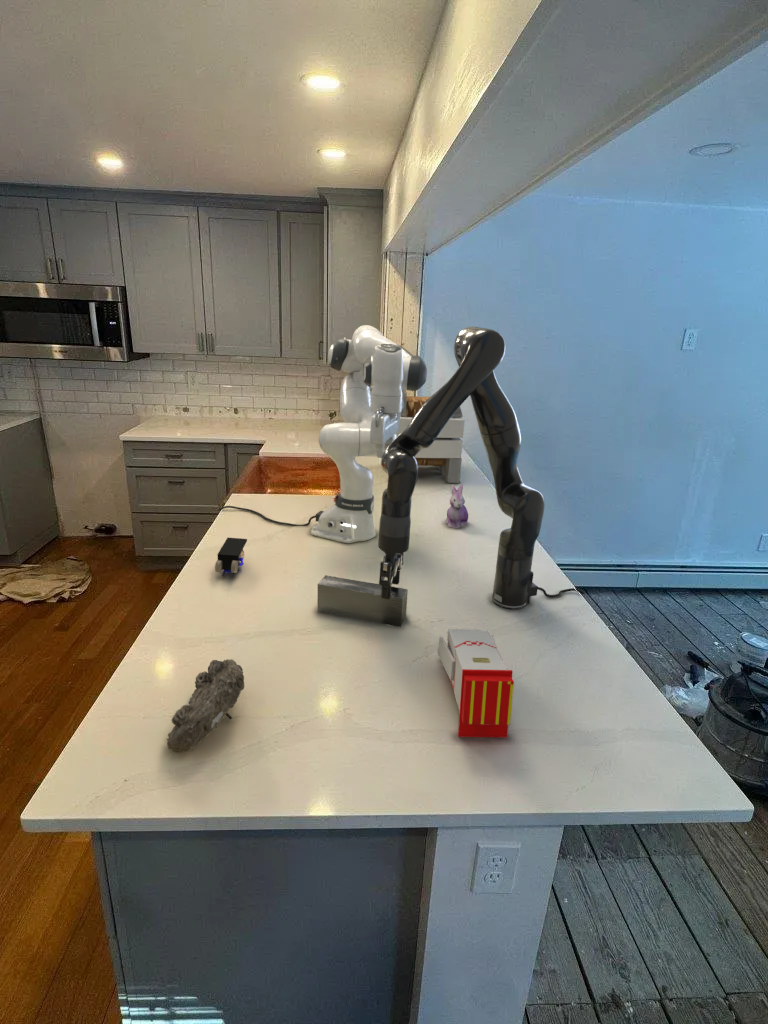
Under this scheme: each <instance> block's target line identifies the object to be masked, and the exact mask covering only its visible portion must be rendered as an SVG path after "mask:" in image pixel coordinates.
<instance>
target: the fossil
mask: <svg viewBox="0 0 768 1024" xmlns="http://www.w3.org/2000/svg"><path fill="white" fill-rule="evenodd" d="M243 670H244V669H243V667H242V665H240V664H237V662H236V661H235V660H234V659H232V658H231V659H227V658H226V659H224V660H223V661H222V660H217V659H212V660H211V661H210V663H209V665H208V666H207V671H201V672H199V673H198V674H197V675H196V676H195V680H194V684H195V685H194V687H195V689H194V690H193V693H192V694H191V697H190V698H189V700H188V704H184V705H182V706H181V707H180V709H177V710H176V711H175V713H174V715H173V716H172V718H171V723H172V724H173V727H172V730H171V731H170V732H168V734H167V738H166V741H167V742H166V745H167V749H168V750H169V751H173V752H174V753H176V754H178V753H182V752H188V751H189V752H192V751H193V750H195V748H196V747H197V746H199V744H200V743H201V742H203V741H204V740H205V739H206V738H207V737H208V736H209V735H210V734H211V733H212V732H214V730H215V729H217V727H218V726H219V724H220V722H221V721H222V720H223V719H224V718H225V716H226V717H227V719H229V720H233V717H232V715H230V714H229V710H230V709H231V708H234V706H235V704H236V703H237V702H238V699H239V697H240V695H241V693H242V691H243V690H245V689H244V688H245V675H244V671H243Z"/></svg>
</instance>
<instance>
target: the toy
mask: <svg viewBox="0 0 768 1024" xmlns="http://www.w3.org/2000/svg"><path fill="white" fill-rule="evenodd" d="M446 640H447V643H446V641H445V639H444V636H443V635H442V634H439V637H438V646H437V656H438V657H439V659H440V661H441V663H442V666H443V668H444V670H445V672H446V674H447V677H448V679H449V681H450V684H451V687H452V690H453V693H454V697H455V701H456V705H457V708H458V711H459V714H458V715H459V716H458V730H457V731H458V732H457V737H458V738H508V731H509V726H510V725H511V717H512V707H513V697H514V696H513V695H514V684H515V680H514V679H513V673H514V671H513V670H512V669H508V667H507V665H506V662H505V661H504V659H503V658H502V655H501V653H500V651H499V649H498V647H497V643H496V639H495V637H494V635H493V634H491V632H490V631H489V629H467V628H466V629H465V628H463V629H461V628H460V629H459V628H448V630H447V639H446Z"/></svg>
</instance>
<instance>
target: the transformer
mask: <svg viewBox="0 0 768 1024" xmlns="http://www.w3.org/2000/svg"><path fill="white" fill-rule="evenodd" d="M402 393H403V397H402V401H403V408H402V412H401V417H400V425H399V430H398V432H397V433H396V435H397V437H398V436H399V435H400V434H401V433H402V432H403V431H404V430H405V429H406V428H407V426H408V425H409V423H411V420H412V419H413V417H414V416H415V414H416V413H417V412H418V410H419V409H420V407H421V406H422V405H423V404H424V403H425V402H426V401H427V400H428V399H429V398H430V397H431V396H415V395H414V396H413V395H412V396H411V395H407V394H408V393H407V390H402ZM464 429H465V419H464V418H463V411H462V408H461V406H460V407H459V408H458V409H457V410H456V412H455V413H454V414H453V415H452V417H451V418H450V419H449V421H448V422H447V423H446V425H445V426H444V428H443V429H442V431H441V432H440V433H439V435H438V436H437V438H436V439H434V440H435V441H434V442H433V443H432V444H431V446H430V447H428V448H425V449H421V450H420V451H419V452H418V453H417V454H416V456H415V459H416V461H417V465H418V467H436V468H437V470H438V469H439V473H440V474H441V475H443V478H444V479H445V481H446V482H447V483H449V484H455V483H456V484H459V483H461V472H462V461H463V460H462V453H463V442H464V441H463V440H462V439H463V438H464V431H465V430H464Z"/></svg>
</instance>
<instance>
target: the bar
mask: <svg viewBox="0 0 768 1024" xmlns="http://www.w3.org/2000/svg"><path fill="white" fill-rule="evenodd" d="M381 591H382V585H379V583H373V582H368V581H361V580H356V579H350V578H343V577H339V576H338V577H337V576H333V575H327V574H326V575H324V576H323V577H322V579H321V580H319V582H318V583H317V612H318V613H323V614H329V615H335V616H338V617H339V616H340V617H344V618H350V619H355V620H360V621H366V622H372V623H377V624H381V625H386V626H387V625H388V626H391V627H398V628H402V625H403V624H404V622H405V619H406V617H407V608H408V607H407V606H408V594H409V593H408V591H409V590H408V588H403V587H396V586H391V597H390V599H383V598H382V597H381Z"/></svg>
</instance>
